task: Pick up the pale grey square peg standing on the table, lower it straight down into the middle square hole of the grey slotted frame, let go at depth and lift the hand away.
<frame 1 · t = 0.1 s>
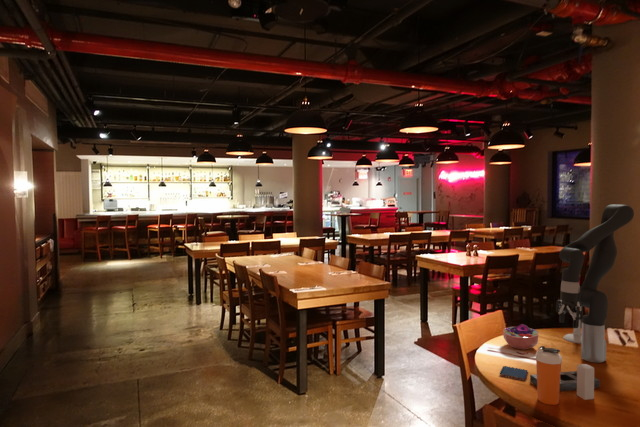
hand: (568, 325, 201), 17 cm above the table, tool pointing down, fingers open, 8 cm apart
candlestick: (577, 340, 232), on the table
shaker bottle: (548, 401, 164), on the table
grey slotted frame: (564, 384, 177), on the table
peg: (585, 396, 166), on the table
cell model: (520, 347, 221), on the table
woven mat: (514, 376, 188), on the table
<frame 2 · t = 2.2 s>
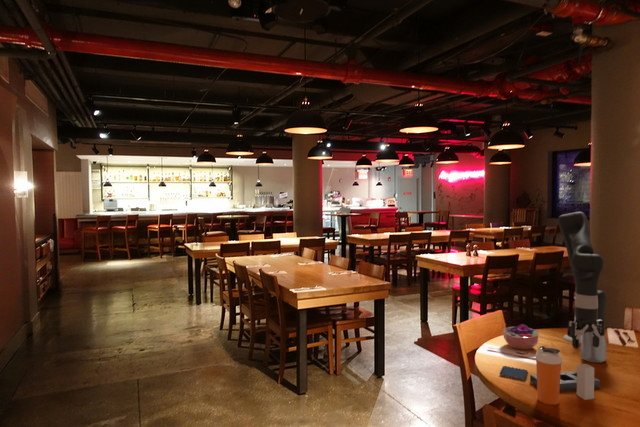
hand: (585, 347, 166), 19 cm above the table, tool pointing down, fingers open, 8 cm apart
nothing on the table moved.
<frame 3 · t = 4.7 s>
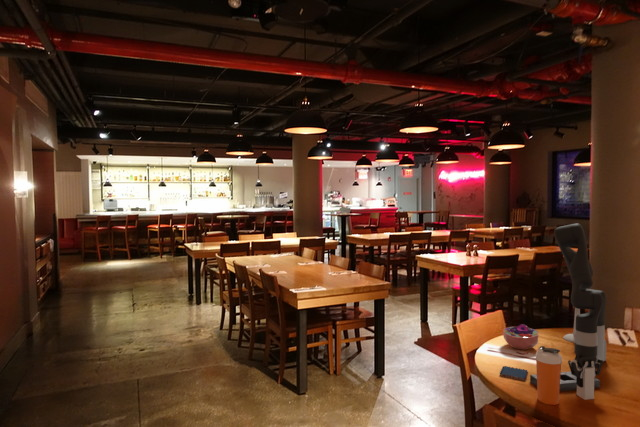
hand: (585, 385, 166), 4 cm above the table, tool pointing down, fingers closed on peg, 4 cm apart
peg: (585, 396, 166), on the table, touching gripper
everything else where it was.
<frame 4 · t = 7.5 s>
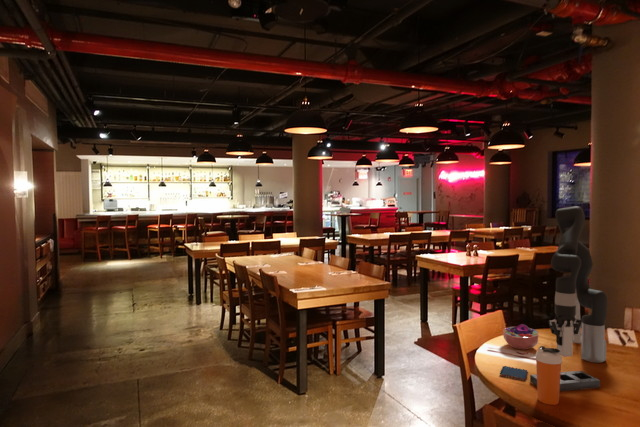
hand: (564, 344, 177), 17 cm above the table, tool pointing down, fingers closed on peg, 4 cm apart
peg: (564, 354, 177), point 12 cm above the table, touching gripper
everything else where it was.
when the fingers open (5 cm above the table, at t = 10.3 s): peg stays where it is, resting in grey slotted frame.
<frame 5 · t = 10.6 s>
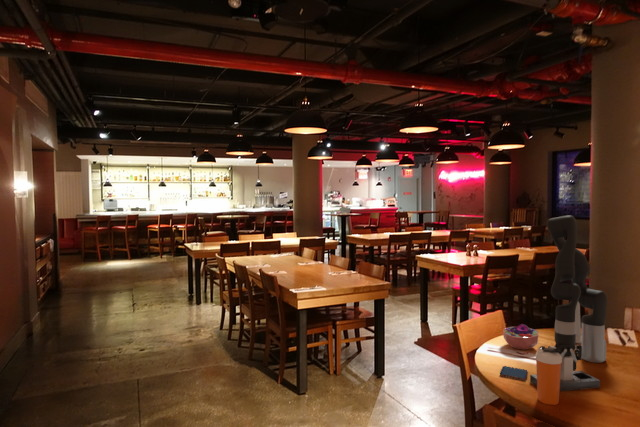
hand: (564, 370, 177), 6 cm above the table, tool pointing down, fingers open, 7 cm apart
peg: (564, 384, 177), resting in grey slotted frame
everything else where it was.
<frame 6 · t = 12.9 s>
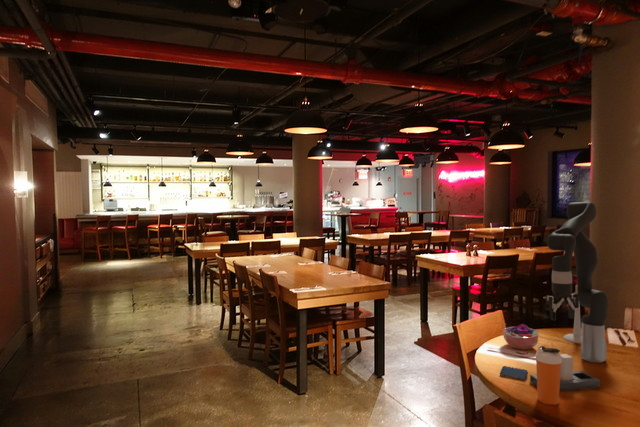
hand: (562, 319, 182), 26 cm above the table, tool pointing down, fingers open, 8 cm apart
nothing on the table moved.
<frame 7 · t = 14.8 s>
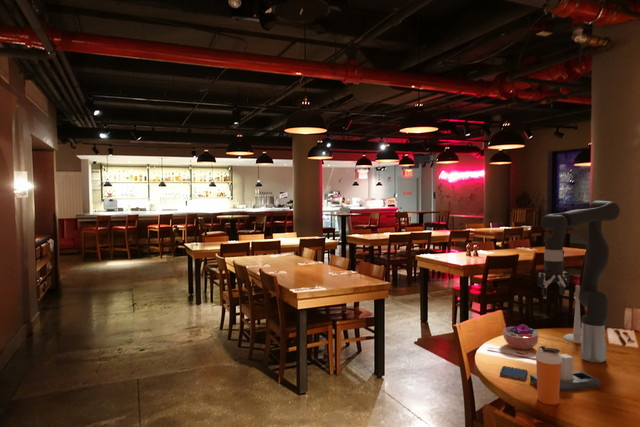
hand: (553, 295, 193), 33 cm above the table, tool pointing down, fingers open, 8 cm apart
nothing on the table moved.
at the end: peg 0.2 cm off-centre on the grey slotted frame, point 0.0 cm above the grey slotted frame's base; peg tilted 0°; the gripper is holding nothing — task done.
